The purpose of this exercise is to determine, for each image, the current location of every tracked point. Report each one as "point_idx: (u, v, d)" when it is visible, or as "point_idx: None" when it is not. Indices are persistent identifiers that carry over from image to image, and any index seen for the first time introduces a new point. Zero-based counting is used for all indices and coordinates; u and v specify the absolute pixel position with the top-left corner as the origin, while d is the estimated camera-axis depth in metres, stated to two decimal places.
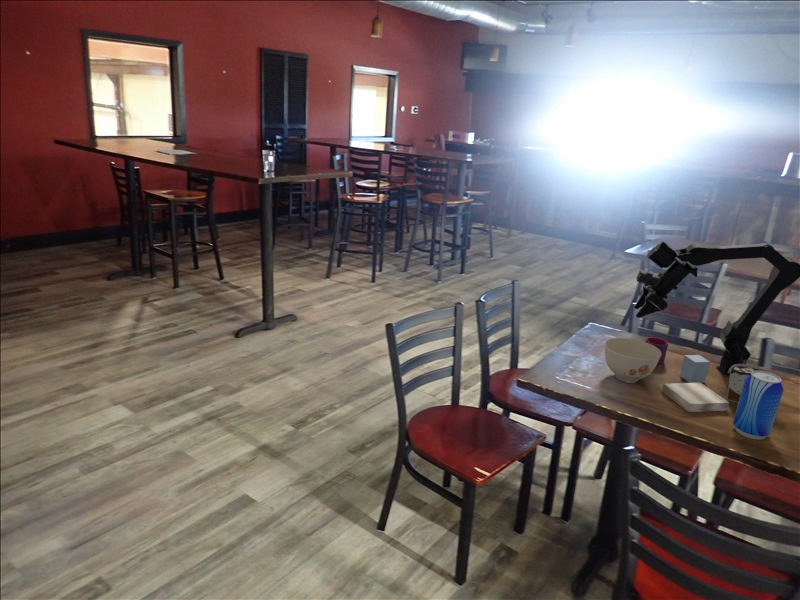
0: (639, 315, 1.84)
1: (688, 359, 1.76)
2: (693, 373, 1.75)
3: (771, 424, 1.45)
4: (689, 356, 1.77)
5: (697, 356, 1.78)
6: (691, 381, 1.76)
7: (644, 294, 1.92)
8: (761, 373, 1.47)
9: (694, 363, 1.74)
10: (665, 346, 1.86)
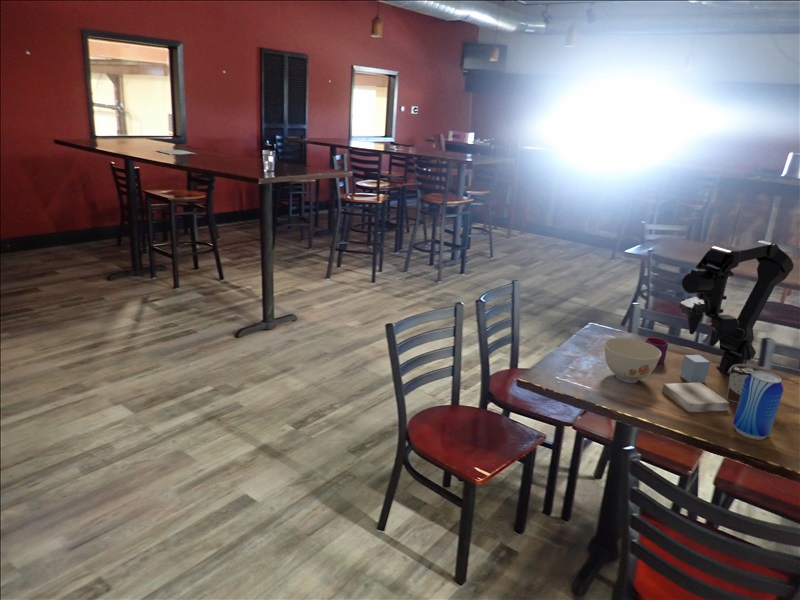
0: (714, 343, 1.69)
1: (688, 359, 1.76)
2: (693, 373, 1.75)
3: (771, 424, 1.45)
4: (689, 356, 1.77)
5: (697, 356, 1.78)
6: (691, 381, 1.76)
7: (691, 317, 1.77)
8: (761, 373, 1.47)
9: (694, 363, 1.74)
10: (665, 346, 1.86)
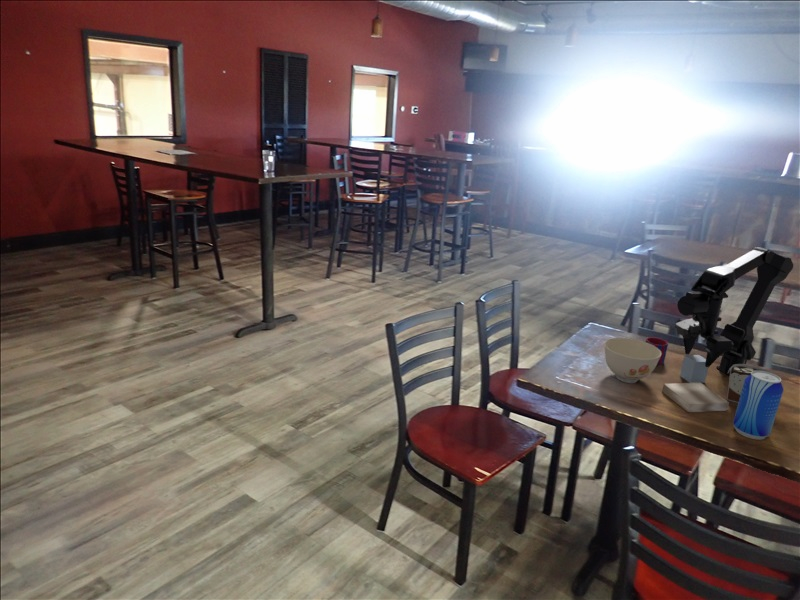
0: (709, 364, 1.72)
1: (688, 359, 1.76)
2: (693, 373, 1.75)
3: (771, 424, 1.45)
4: (689, 356, 1.77)
5: (697, 356, 1.78)
6: (691, 381, 1.76)
7: (687, 337, 1.79)
8: (761, 373, 1.47)
9: (694, 363, 1.74)
10: (665, 346, 1.86)
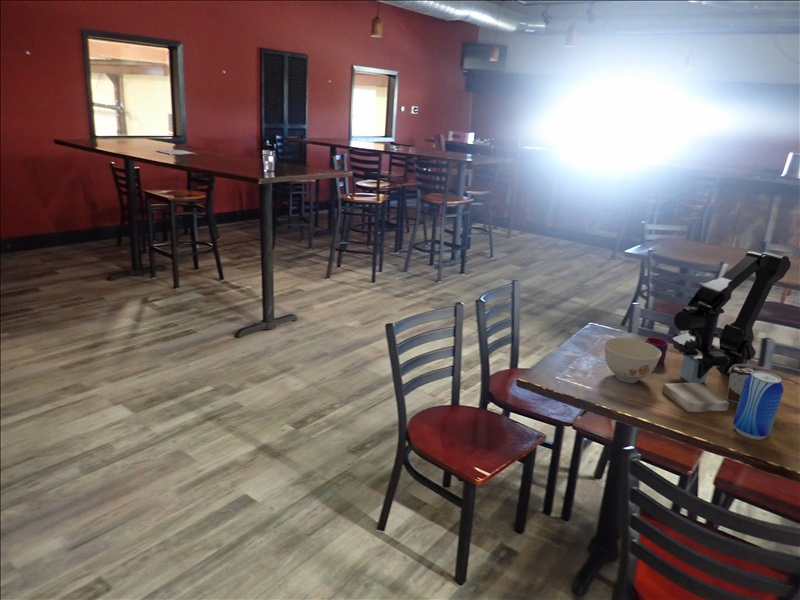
0: (701, 376, 1.75)
1: (688, 359, 1.76)
2: (693, 373, 1.75)
3: (771, 424, 1.45)
4: (689, 356, 1.77)
5: (697, 356, 1.78)
6: (691, 381, 1.76)
7: (687, 354, 1.79)
8: (761, 373, 1.47)
9: (694, 363, 1.74)
10: (665, 346, 1.86)
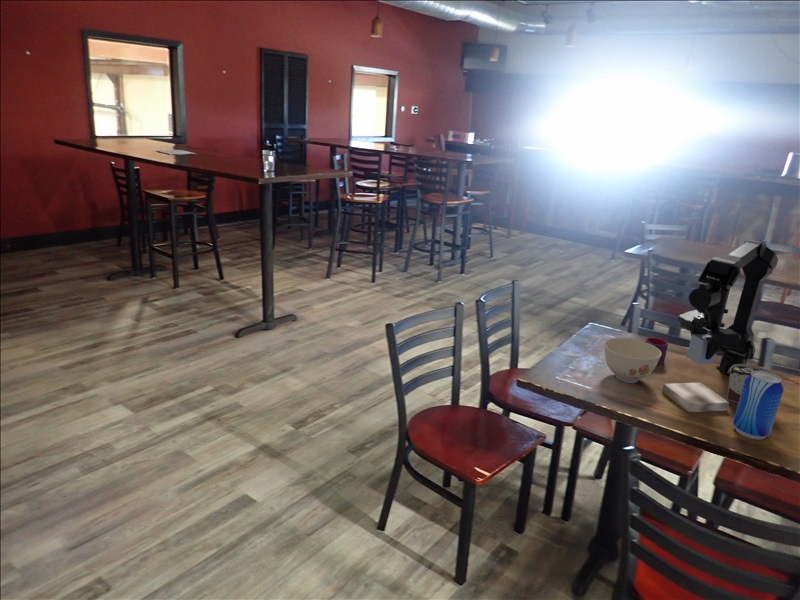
0: (710, 356, 1.62)
1: (696, 338, 1.64)
2: (700, 353, 1.62)
3: (771, 424, 1.45)
4: (697, 335, 1.65)
5: (705, 335, 1.65)
6: (699, 362, 1.63)
7: None
8: (761, 373, 1.47)
9: (702, 342, 1.62)
10: (665, 346, 1.86)
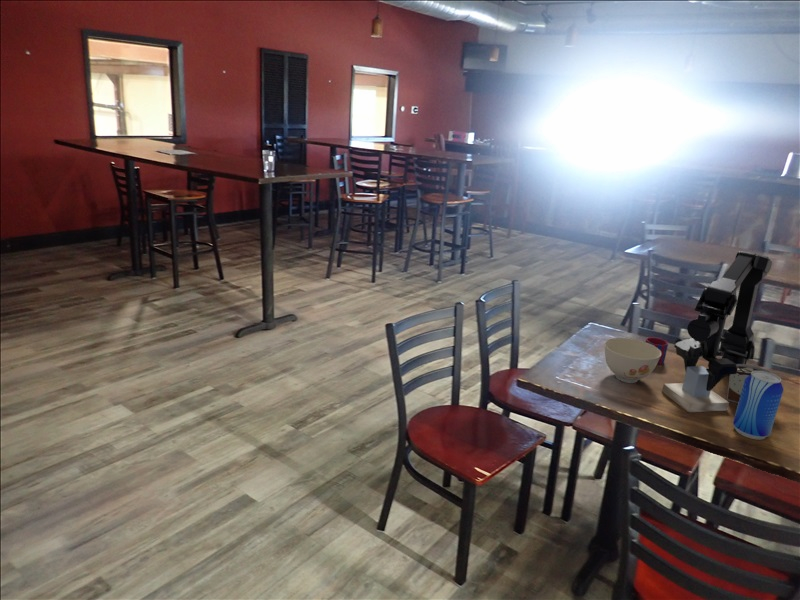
0: (711, 387, 1.58)
1: (691, 371, 1.62)
2: (696, 387, 1.60)
3: (771, 424, 1.45)
4: (692, 368, 1.63)
5: (701, 368, 1.63)
6: (694, 395, 1.61)
7: None
8: (761, 373, 1.47)
9: (698, 375, 1.59)
10: (665, 346, 1.86)
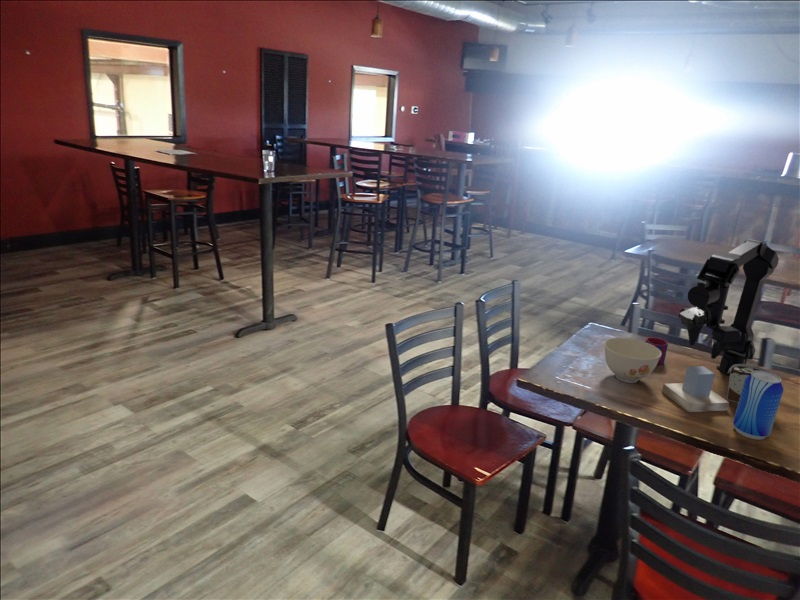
0: (715, 355, 1.62)
1: (691, 371, 1.62)
2: (696, 387, 1.60)
3: (771, 424, 1.45)
4: (692, 368, 1.63)
5: (701, 368, 1.63)
6: (694, 395, 1.61)
7: (691, 328, 1.69)
8: (761, 373, 1.47)
9: (698, 375, 1.59)
10: (665, 346, 1.86)
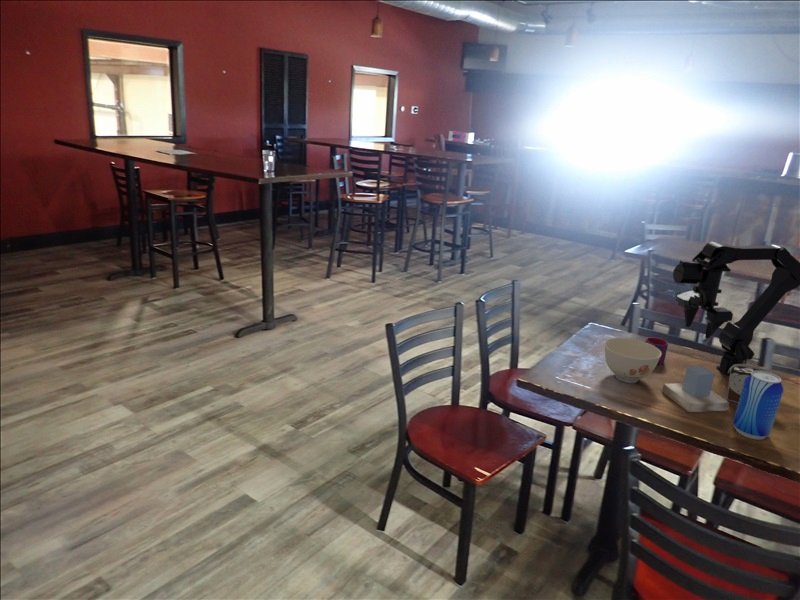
0: (709, 335, 1.75)
1: (691, 371, 1.62)
2: (696, 387, 1.60)
3: (771, 424, 1.45)
4: (692, 368, 1.63)
5: (701, 368, 1.63)
6: (694, 395, 1.61)
7: (687, 310, 1.83)
8: (761, 373, 1.47)
9: (698, 375, 1.59)
10: (665, 346, 1.86)
